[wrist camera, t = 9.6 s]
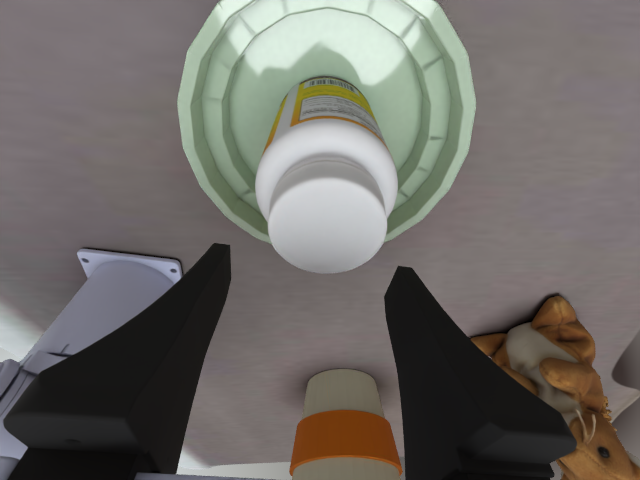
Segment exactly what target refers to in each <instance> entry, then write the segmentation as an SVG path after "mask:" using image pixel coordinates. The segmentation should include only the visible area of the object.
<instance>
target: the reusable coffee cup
mask: <svg viewBox="0 0 640 480" xmlns="http://www.w3.org/2000/svg"><path fill="white" fill-rule="evenodd" d="M402 472H403V471H402V467H401V464H400V460H399V456H398V452H397V449H396V445H395V441H394V437H393V434H392V430H391V426H390V423H389V422H388V421H387V420H386V419H385V417H384V413H383V409H382V406H381V402H380V398H379V394H378V390H377V386H376V383H375V380H374V379H373V378H372V377H371V376H370V375H368V374H366V373H364V372H361V371H357V370H352V369H334V370H328V371H324V372H321V373H318V374H316V375H315V376H313V377H312V378H311V379H310V380H309V381H308V385H307V391H306V397H305V403H304V409H303V415H302V420H301V421H300V422H299V424H298V426H297V430H296V436H295V442H294V448H293V454H292V460H291V466H290V475H291V476H292V480H401V479H400V475H401V474H402Z"/></svg>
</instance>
